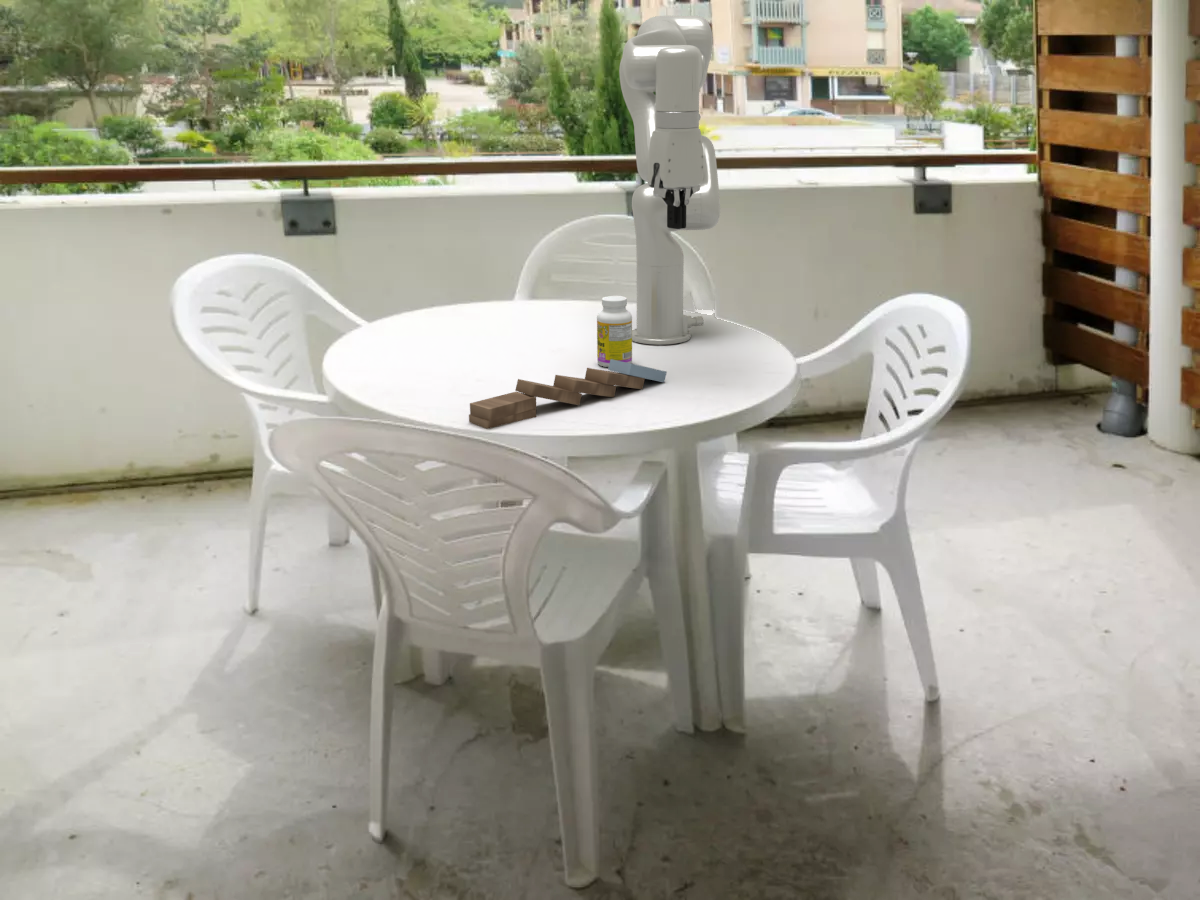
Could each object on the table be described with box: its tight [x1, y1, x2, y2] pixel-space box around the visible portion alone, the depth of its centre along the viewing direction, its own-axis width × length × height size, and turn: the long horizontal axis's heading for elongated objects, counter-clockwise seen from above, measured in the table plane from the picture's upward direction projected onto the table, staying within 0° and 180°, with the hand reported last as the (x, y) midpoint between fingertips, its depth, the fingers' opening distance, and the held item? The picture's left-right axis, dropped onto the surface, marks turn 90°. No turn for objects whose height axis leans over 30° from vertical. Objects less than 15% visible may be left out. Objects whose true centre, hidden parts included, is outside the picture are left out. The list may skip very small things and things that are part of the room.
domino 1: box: [469, 391, 537, 421], centre depth 213 cm, size 2×5×10 cm
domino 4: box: [552, 374, 617, 398], centre depth 224 cm, size 2×5×10 cm
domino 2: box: [468, 408, 537, 430], centre depth 214 cm, size 2×5×10 cm
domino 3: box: [514, 378, 583, 406], centre depth 219 cm, size 2×5×10 cm
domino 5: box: [584, 367, 646, 390], centre depth 228 cm, size 2×5×10 cm
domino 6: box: [607, 359, 667, 383], centre depth 232 cm, size 2×5×10 cm
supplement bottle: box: [596, 295, 633, 369], centre depth 245 cm, size 7×7×13 cm
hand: (676, 227), depth 230 cm, fingers closed
